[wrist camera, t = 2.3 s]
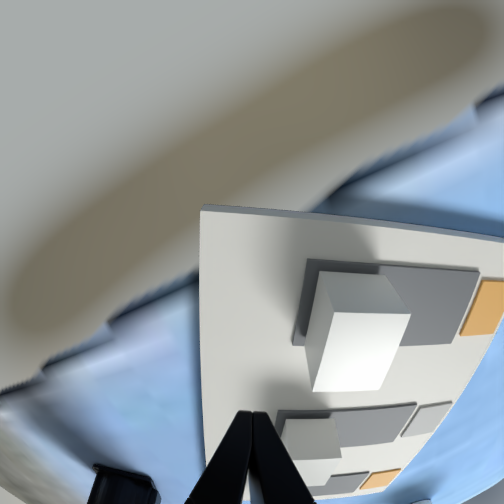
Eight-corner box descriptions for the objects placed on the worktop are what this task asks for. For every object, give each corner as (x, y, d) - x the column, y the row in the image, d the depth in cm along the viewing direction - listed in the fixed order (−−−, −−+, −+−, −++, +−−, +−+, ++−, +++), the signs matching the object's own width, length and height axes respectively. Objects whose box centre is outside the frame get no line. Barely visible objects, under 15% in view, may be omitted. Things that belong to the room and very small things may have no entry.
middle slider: (277, 450, 19) (278, 487, 16) (285, 418, 17) (288, 460, 14) (319, 450, 19) (324, 485, 16) (334, 418, 17) (341, 457, 14)
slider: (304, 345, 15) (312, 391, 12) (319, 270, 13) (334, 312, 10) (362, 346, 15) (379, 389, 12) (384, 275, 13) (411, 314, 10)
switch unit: (209, 489, 25) (208, 499, 24) (203, 204, 14) (199, 212, 12) (380, 484, 25) (382, 493, 24) (520, 240, 14) (532, 248, 13)
